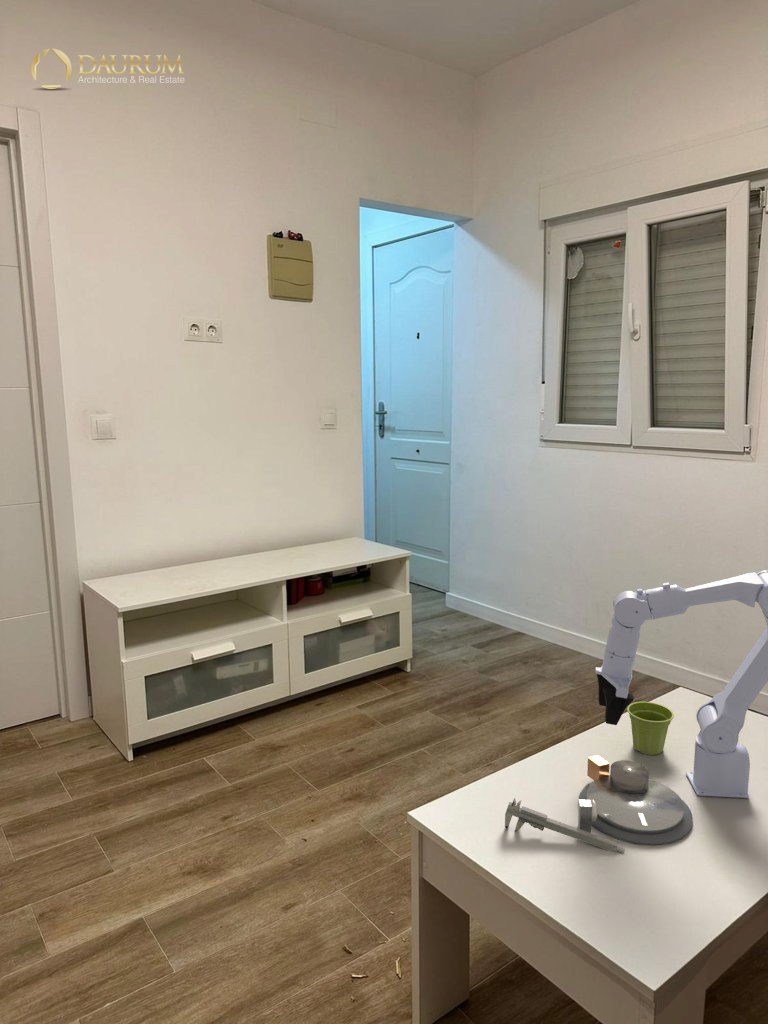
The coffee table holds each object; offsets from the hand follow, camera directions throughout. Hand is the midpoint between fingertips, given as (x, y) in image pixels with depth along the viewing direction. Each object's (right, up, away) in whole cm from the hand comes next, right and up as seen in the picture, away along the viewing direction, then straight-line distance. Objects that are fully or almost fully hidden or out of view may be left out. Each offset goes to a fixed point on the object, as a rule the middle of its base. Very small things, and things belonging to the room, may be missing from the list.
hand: (607, 714), depth 146 cm
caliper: (-14, -17, -19) cm, 29 cm away
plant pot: (+12, -11, +11) cm, 20 cm away
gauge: (-9, -16, -17) cm, 25 cm away
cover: (+2, -12, -7) cm, 14 cm away
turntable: (+2, -14, -10) cm, 17 cm away
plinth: (+1, -15, -11) cm, 19 cm away
